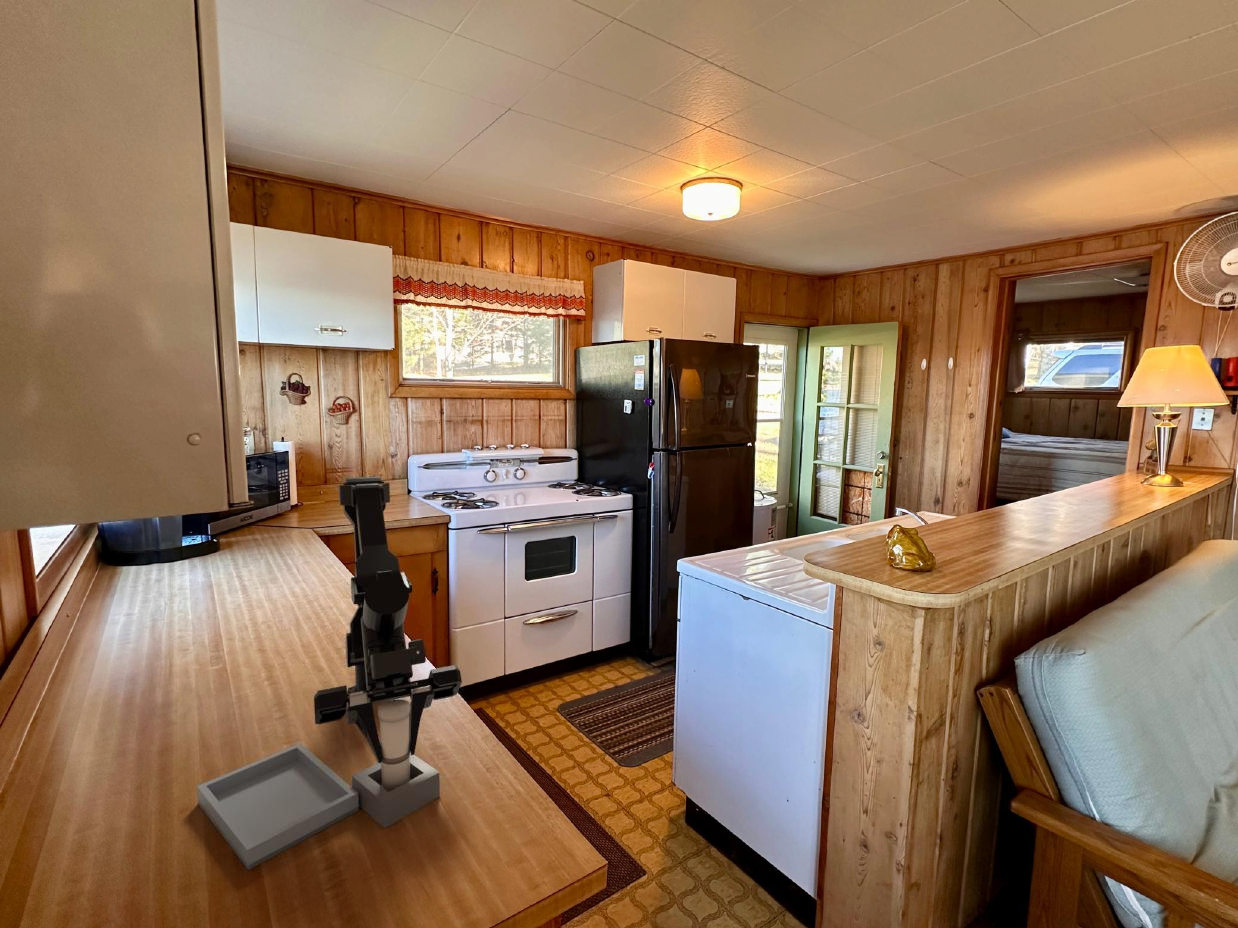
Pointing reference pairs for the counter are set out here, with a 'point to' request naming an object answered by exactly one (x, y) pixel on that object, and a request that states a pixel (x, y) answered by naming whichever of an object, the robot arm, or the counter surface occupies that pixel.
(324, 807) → the parts tray
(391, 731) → the beige banded cylinder
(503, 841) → the counter surface
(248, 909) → the counter surface
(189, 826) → the counter surface
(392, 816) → the holder
